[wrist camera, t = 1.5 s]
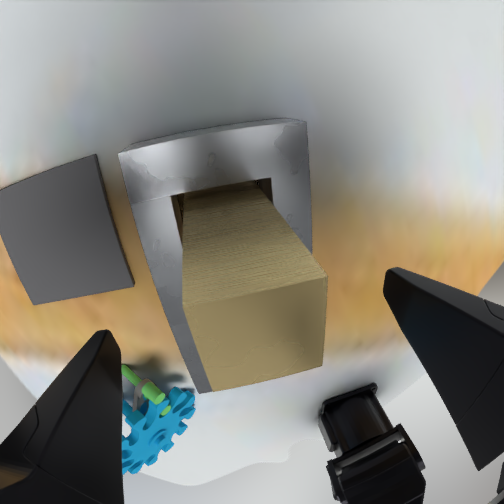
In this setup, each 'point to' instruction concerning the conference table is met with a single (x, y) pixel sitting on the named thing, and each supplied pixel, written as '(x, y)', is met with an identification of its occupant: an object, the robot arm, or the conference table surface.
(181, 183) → the grey cinder block
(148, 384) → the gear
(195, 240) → the brass peg
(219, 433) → the conference table surface
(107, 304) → the conference table surface
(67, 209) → the rubber pad
